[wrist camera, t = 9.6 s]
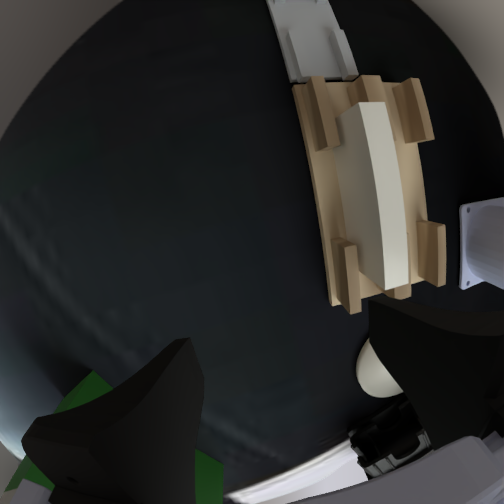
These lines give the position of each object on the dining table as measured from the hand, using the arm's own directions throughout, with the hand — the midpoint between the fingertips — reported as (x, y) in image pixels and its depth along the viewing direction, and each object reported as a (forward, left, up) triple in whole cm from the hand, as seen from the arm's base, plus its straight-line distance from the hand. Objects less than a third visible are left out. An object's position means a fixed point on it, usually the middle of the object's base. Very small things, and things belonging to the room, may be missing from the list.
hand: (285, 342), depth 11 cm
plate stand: (-7, -19, -10) cm, 22 cm away
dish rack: (-9, -5, -10) cm, 14 cm away
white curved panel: (-7, -4, -9) cm, 12 cm away
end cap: (-11, +21, -10) cm, 26 cm away
